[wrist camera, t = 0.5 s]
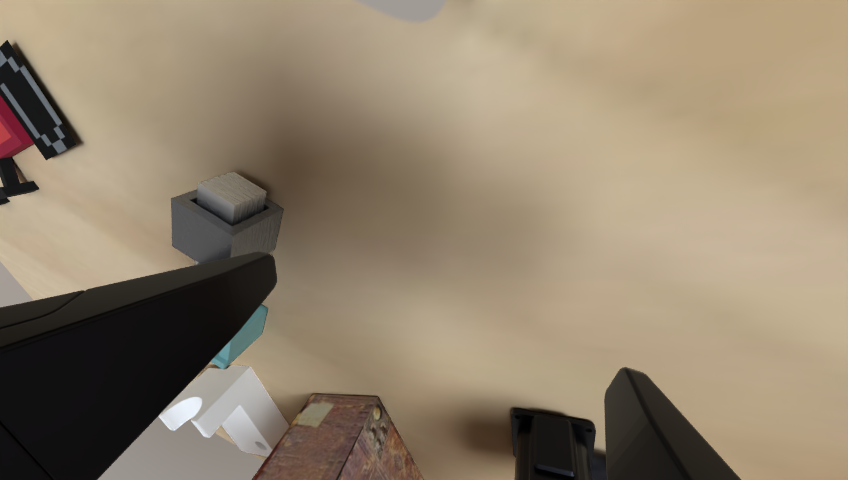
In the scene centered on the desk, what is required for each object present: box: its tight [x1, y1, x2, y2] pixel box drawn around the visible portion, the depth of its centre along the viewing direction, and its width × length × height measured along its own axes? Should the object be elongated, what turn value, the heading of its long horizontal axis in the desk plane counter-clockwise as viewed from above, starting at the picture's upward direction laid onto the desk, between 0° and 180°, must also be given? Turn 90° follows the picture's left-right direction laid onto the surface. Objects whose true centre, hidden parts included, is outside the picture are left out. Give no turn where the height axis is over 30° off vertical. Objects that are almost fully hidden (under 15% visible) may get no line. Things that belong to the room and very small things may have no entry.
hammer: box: [195, 171, 267, 265], centre depth 22 cm, size 12×3×12 cm, turn 154°
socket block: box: [210, 305, 268, 370], centre depth 31 cm, size 4×6×5 cm
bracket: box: [158, 365, 289, 457], centre depth 39 cm, size 13×7×8 cm, turn 17°
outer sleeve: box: [171, 190, 283, 264], centre depth 24 cm, size 4×5×5 cm
